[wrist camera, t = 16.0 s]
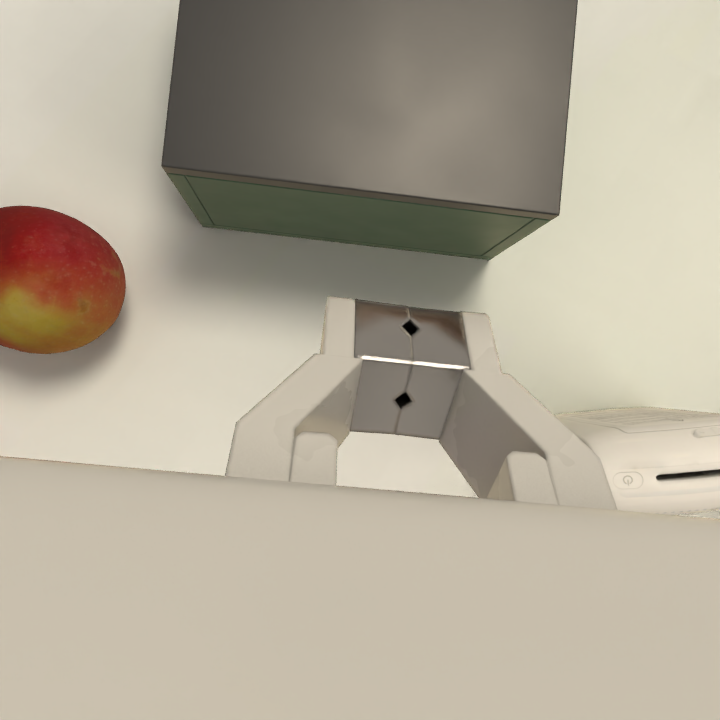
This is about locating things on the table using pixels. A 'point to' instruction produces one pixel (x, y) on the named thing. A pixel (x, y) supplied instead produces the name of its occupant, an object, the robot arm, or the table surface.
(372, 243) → the bin
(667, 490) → the photo printer
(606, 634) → the robot arm
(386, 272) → the table surface
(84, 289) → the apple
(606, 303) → the table surface
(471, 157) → the bin lid
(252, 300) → the table surface
